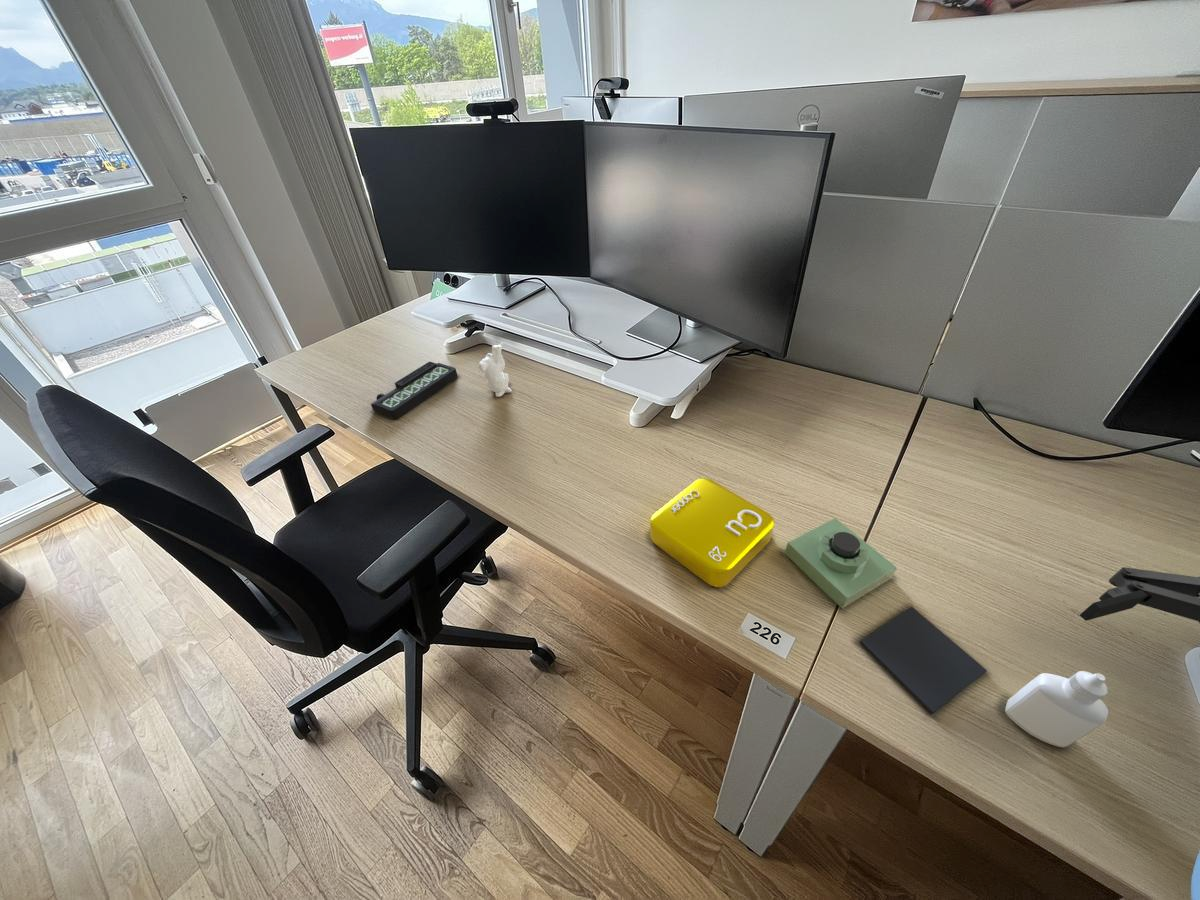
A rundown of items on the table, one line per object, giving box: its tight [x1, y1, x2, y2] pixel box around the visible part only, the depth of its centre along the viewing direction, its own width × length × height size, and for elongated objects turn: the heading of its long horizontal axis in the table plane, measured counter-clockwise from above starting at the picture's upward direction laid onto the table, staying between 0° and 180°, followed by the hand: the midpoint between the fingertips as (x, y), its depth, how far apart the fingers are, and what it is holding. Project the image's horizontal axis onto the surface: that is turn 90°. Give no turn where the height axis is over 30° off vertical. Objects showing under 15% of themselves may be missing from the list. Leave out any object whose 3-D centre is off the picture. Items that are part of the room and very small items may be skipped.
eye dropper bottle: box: [1004, 670, 1109, 748], centre depth 49 cm, size 4×6×12 cm
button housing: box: [784, 517, 898, 609], centre depth 69 cm, size 11×10×4 cm
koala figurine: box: [477, 342, 512, 398], centre depth 110 cm, size 8×7×12 cm
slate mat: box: [859, 606, 988, 715], centre depth 59 cm, size 10×10×1 cm
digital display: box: [370, 361, 459, 421], centre depth 116 cm, size 21×3×10 cm
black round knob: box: [830, 532, 860, 559], centre depth 67 cm, size 4×4×2 cm
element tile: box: [649, 477, 776, 588], centre depth 74 cm, size 15×15×5 cm
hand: (1154, 669), depth 48 cm, fingers open, 13 cm apart
